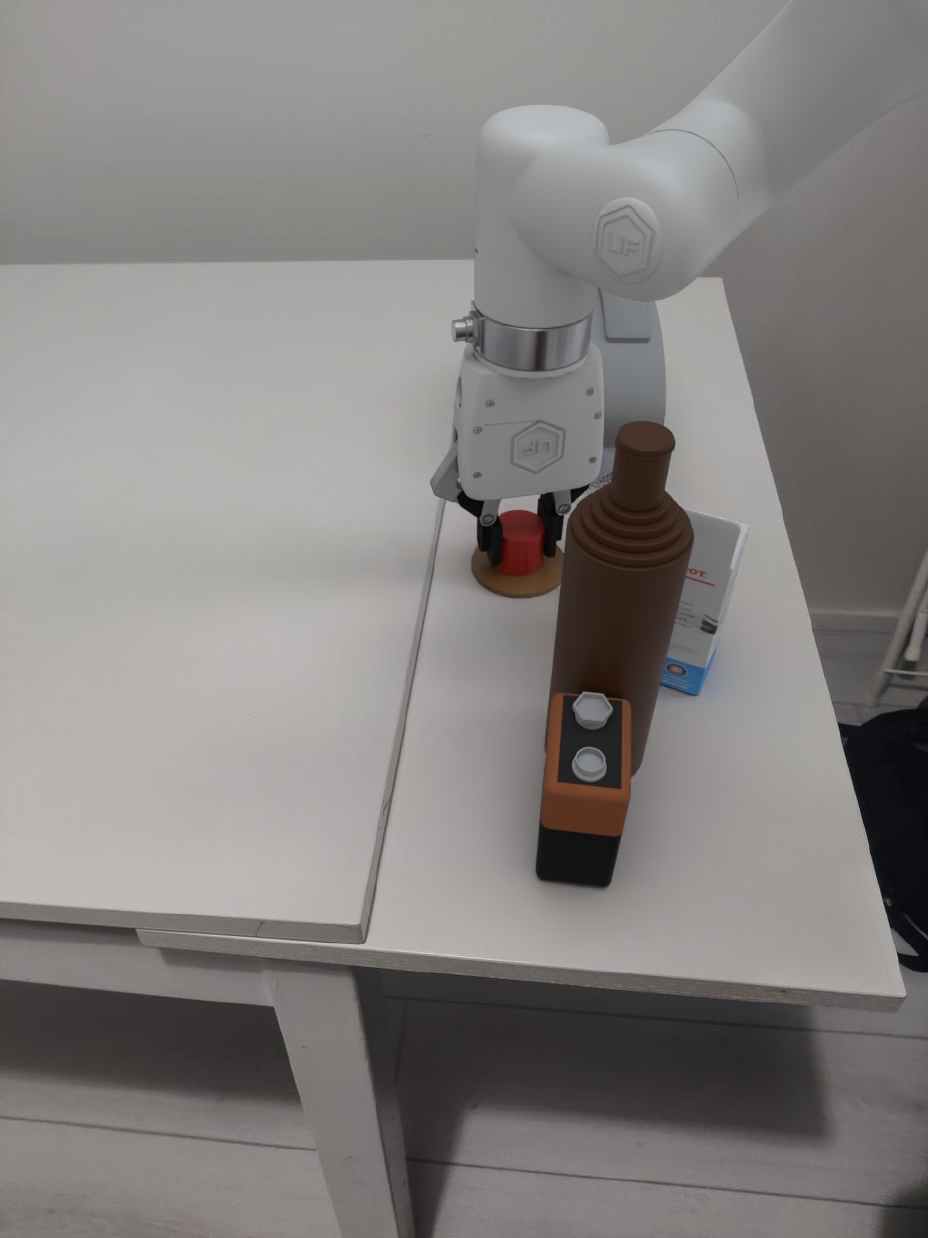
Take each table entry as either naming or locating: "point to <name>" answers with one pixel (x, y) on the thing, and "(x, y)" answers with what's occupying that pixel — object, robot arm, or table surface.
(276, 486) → the table surface
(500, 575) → the coaster
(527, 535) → the cap
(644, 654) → the bottle
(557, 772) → the battery
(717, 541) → the ink box
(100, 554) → the table surface
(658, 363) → the alarm clock
